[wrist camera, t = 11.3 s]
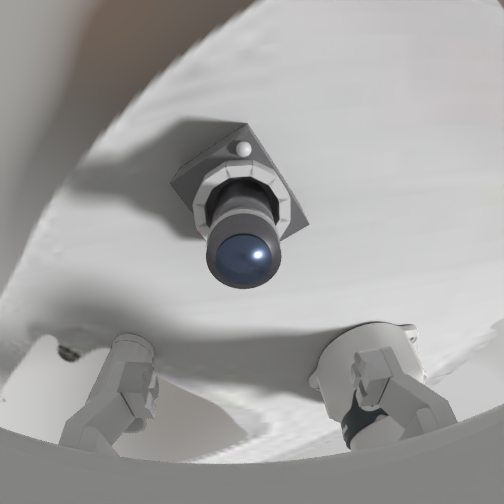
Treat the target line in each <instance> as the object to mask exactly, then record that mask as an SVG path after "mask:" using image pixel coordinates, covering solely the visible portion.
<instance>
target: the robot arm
mask: <svg viewBox="0 0 504 504" xmlns="http://www.w3.org/2000/svg"><path fill="white" fill-rule="evenodd" d="M153 370H154V368H153V366H152V363H141V362H124V361H116V362H115V364H114V366H113V369H112V372H111V375H110V378H109V381H108V384H107V387H106V390H105V391H101V392H100V393H99V394H98V395H97V396H96V397H94V398H93V399H92V400H91V401H90V402H88V403H87V404H86V405H85V406H84V407H83V408H81V409H80V410H79V411H78V412H77V413H75V414H74V415H73V416H72V417H71V418H70V419H68V420H67V421H66V424H65V427H64V429H63V432H62V435H61V438H60V441H59V444H58V445H57V444H53V443H49V442H45V441H42V440H38V439H35V438H31V437H28V436H25V435H21V434H18V433H15V432H12V431H9V430H6V429H4V428H1V427H0V504H504V404H502V405H500V406H497V407H495V408H493V409H491V410H488V411H486V412H484V413H481V414H479V415H476V416H474V417H471V418H469V419H466V420H463V421H461V422H457V420H456V418H455V415H454V413H453V411H452V409H451V407H450V405H449V403H448V401H447V400H446V399H444V398H443V397H441V396H440V395H438V394H437V393H435V392H434V391H432V390H431V389H429V388H428V387H426V386H425V385H423V384H425V383H426V382H427V378H426V372H425V369H424V368H423V366H422V363H421V361H420V359H419V335H418V330H417V327H416V326H414V325H407V326H396V325H392V324H389V323H371V324H366V325H362V326H359V327H356V328H354V329H352V330H350V331H347V332H346V333H344V334H342V335H341V336H339V337H338V338H336V339H335V340H334V341H333V342H331V343H330V344H329V345H328V346H327V347H326V349H325V350H324V351H323V353H322V354H321V356H320V359H319V362H318V366H317V369H316V370H315V371H314V373H313V374H312V375H311V376H310V377H309V379H308V382H309V385H310V386H311V387H312V388H314V389H315V390H317V391H319V392H320V393H321V394H322V397H323V400H324V404H325V407H326V410H327V413H328V416H329V418H330V419H333V420H334V421H336V422H339V423H341V427H342V431H343V432H342V434H343V438H344V441H345V442H346V445H347V447H348V448H349V449H350V450H351V452H348V453H341V454H336V455H330V456H323V457H315V458H308V459H300V460H290V461H278V462H264V463H244V464H195V463H174V462H160V461H150V460H140V459H132V458H124V457H120V456H119V455H118V454H117V452H116V451H115V450H114V449H113V448H112V445H113V444H114V442H115V441H116V440H117V439H118V438H119V437H120V436H121V434H122V433H123V432H124V431H125V430H126V429H127V427H128V426H129V425H130V424H131V423H132V422H133V420H134V419H135V418H154V416H155V410H156V404H155V402H154V400H155V399H156V398H157V397H158V394H159V383H158V378H157V376H156V375H155V374H154V373H153Z"/></svg>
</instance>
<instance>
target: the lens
mask: <svg viewBox="0 0 504 504" xmlns="http://www.w3.org/2000/svg"><path fill="white" fill-rule="evenodd" d="M212 215H213V219H212V224H211V227H210V229H209V233H208V238H207V252H206V261H207V265H208V268H209V270H210V272H211V273H212V275H213V276H214V277H215V278H216V279H217V280H218V281H220V282H221V283H223V284H225V285H227V286H229V287H233V288H238V289H249V288H254V287H257V286H260V285H262V284H264V283H266V282H267V281H269V280H270V279H271V278H272V277H273V276H274V275H275V273H276V272H277V270H278V268H279V266H280V263H281V250H280V239H279V234H278V230H277V228H276V225H275V224H274V220H273V216H272V211H271V207H270V203H269V199H268V196H267V193H266V192H265V190H264V189H263V188H262V187H261V186H260V185H259V184H257V183H255V182H253V181H250V180H245V179H241V180H235V181H232V182H230V183H228V184H226V185H225V186H224V187H223V188H222V189H221V190H220V192H219V193H218V195H217V198H216V203H215V208H214V210H213V211H212Z"/></svg>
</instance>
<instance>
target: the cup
mask: <svg viewBox="0 0 504 504" xmlns="http://www.w3.org/2000/svg"><path fill="white" fill-rule="evenodd" d="M154 355H155V352H154V348H153V347H152V345H151V344H150V343H149V342H148V341H147V340H146V339H144V338H142V337H140V336H138V335H134V334H121V335H119V336H117V337H116V338H115V339H114V342H113V344H112V347H111V350H110V352H109V354H108V356H107V358H106V361H105V363H104V365H103V367H102V369H101V371H100V373H99V376H98V378H97V380H96V382H95V384H94V386H93V388H92V390H91V392H90V394H89V397H88V399H87V401H86V403H85V405H86V404H87V403H88V402H90V401H91V400H92V399H93V398H94V397H96V396H97V395H98V394H99V393H100V392H101V391H105V390H106V387H107V384H108V381H109V378H110V375H111V372H112V369H113V366H114V364H115V362H116V361H124V362H141V363H152V364H153V359H154ZM146 425H147V418H135V419H134V420H133V422H132V423H131V424H130V425H129V426H128V427H127V429H126V430H125V431H124V433H137V432H140V431H142V430H144V429H145V428H146Z"/></svg>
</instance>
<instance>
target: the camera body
mask: <svg viewBox="0 0 504 504" xmlns="http://www.w3.org/2000/svg"><path fill="white" fill-rule="evenodd" d="M241 179H245V180H250V181H253V182H255V183H257V184H259V185H260V186H261V187H262V188H263V189H264V190H265V192H266V193H267V196H268V199H269V203H270V207H271V211H272V216H273V220H274V224H275V225H276V228H277V230H278V234H279V239H280V241H282V240H283V239H285V238H287V237H289V236H290V235H292V234H294V233H296V232H297V231H299V230H301V229H302V228H304V227H306V226H308V225H309V222H308V220H307V218H306V216H305V214H304V212H303V210H302V208H301V206H300V204H299V202H298V201H297V199H296V198H295V196H294V194H293V193H292V191H291V190H290V188H289V186H288V185H287V183H286V182H285V180H284V178H283V177H282V175H281V174H280V172H279V171H278V169H277V167H276V166H275V164H274V163H273V161H272V160H271V158H270V157H269V155H268V154H267V152H266V150H265V149H264V147H263V146H262V144H261V143H260V141H259V140H258V138H257V137H256V135H255V134H254V132H253V131H252V129H251V128H250V126H249V125H248V123H247V124H245V125H244V126H242V127H241V128H239V129H237V130H236V131H234V132H233V133H231V134H230V135H228V136H227V137H225V138H223V139H222V140H220V141H219V142H217V143H216V144H214V145H213V146H211V147H210V148H208V149H207V150H205V151H204V152H202V153H201V154H200V155H198V156H197V157H195V158H194V159H192V160H191V161H189V162H188V163H187V164H185V165H184V166H182V167H181V168H180V169H179V170H178V172H177V173H176V175H175V176H174V178H173V180H172V181H171V183H170V184H171V186H172V187H173V188H174V190H175V191H176V192H177V193H178V195H179V196H180V197H181V199H182V200H183V201H184V202H185V204H186V205H187V206H188V208H189V209H190V210H191V211H192V213H193V214H194V220H195V227H196V229H197V231H198V233H199V234H201V235H202V236H203V238H204V239H205V240H206V241H207V238H208V233H209V229H210V227H211V224H212V219H213V215H212V211H213V210H214V208H215V203H216V198H217V195H218V193H219V192H220V190H221V189H222V188H223V187H224V186H225V185H226V184H228V183H230V182H232V181H235V180H241Z"/></svg>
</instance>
